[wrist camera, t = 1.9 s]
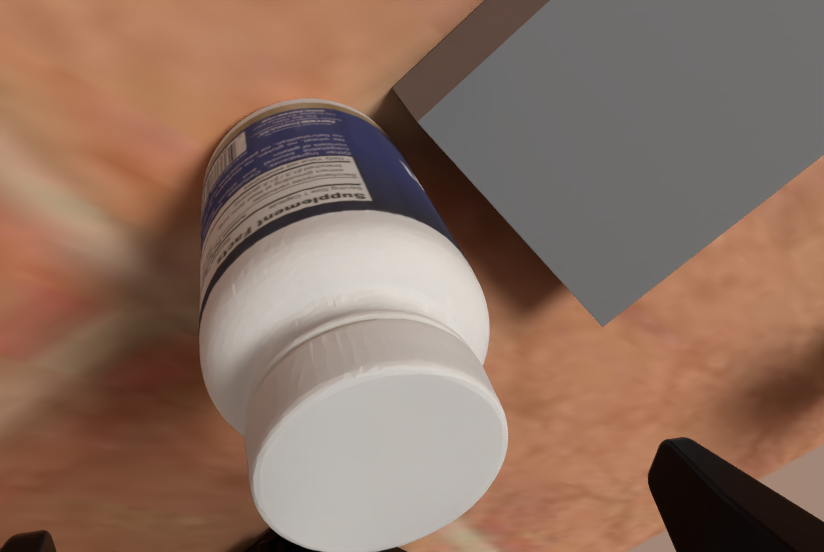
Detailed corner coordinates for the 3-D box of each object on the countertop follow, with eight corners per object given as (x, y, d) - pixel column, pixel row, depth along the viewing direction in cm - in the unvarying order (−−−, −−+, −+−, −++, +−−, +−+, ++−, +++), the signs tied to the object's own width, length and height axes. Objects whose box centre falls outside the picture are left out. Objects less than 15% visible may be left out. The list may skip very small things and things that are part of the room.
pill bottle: (426, 235, 19) (574, 506, 12) (254, 302, 19) (285, 625, 11) (370, 60, 16) (522, 269, 8) (163, 137, 16) (119, 426, 8)
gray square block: (800, 92, 20) (866, 121, 18) (565, 281, 22) (602, 326, 20) (684, -188, 15) (758, -192, 13) (392, 88, 17) (417, 122, 15)
